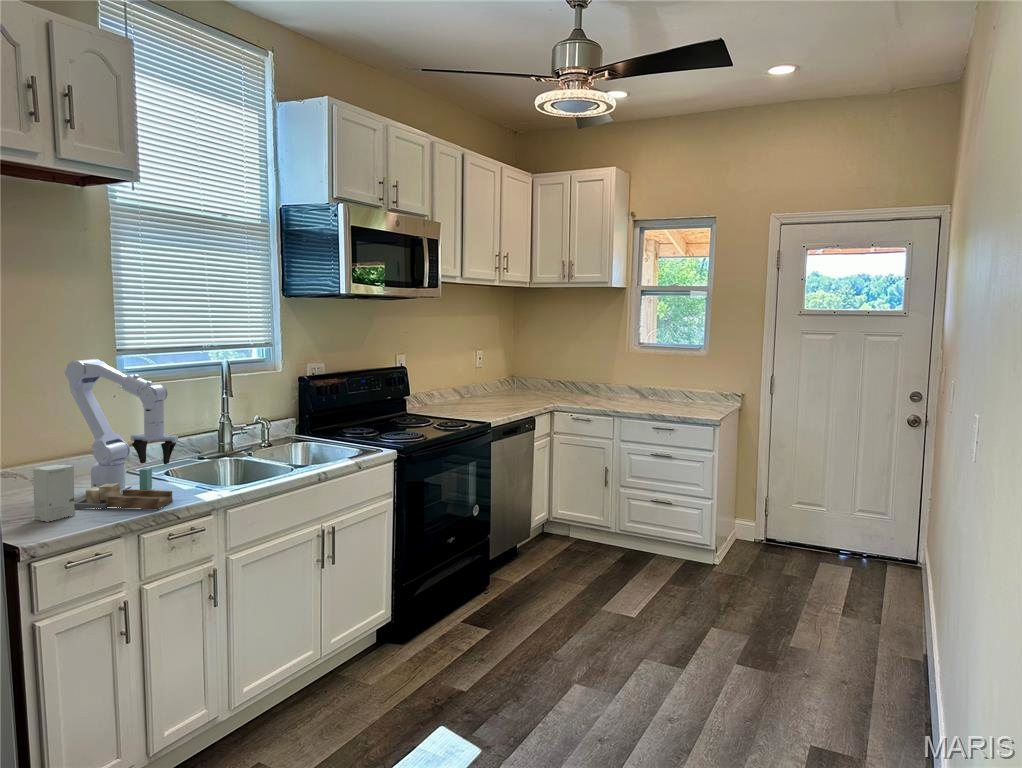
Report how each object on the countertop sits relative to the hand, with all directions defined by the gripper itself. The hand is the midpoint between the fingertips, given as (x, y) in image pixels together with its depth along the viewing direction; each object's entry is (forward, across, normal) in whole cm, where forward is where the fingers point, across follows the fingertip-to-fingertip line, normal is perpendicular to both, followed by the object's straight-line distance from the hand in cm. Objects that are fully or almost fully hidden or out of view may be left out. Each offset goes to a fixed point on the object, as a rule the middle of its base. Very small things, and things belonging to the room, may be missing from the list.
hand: (154, 463), depth 224 cm
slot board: (+10, +3, -14) cm, 17 cm away
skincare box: (+10, -13, -29) cm, 33 cm away
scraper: (+10, -1, -4) cm, 11 cm away
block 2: (+8, -6, -14) cm, 17 cm away
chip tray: (+10, -9, -14) cm, 19 cm away
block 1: (+7, -9, -14) cm, 18 cm away
